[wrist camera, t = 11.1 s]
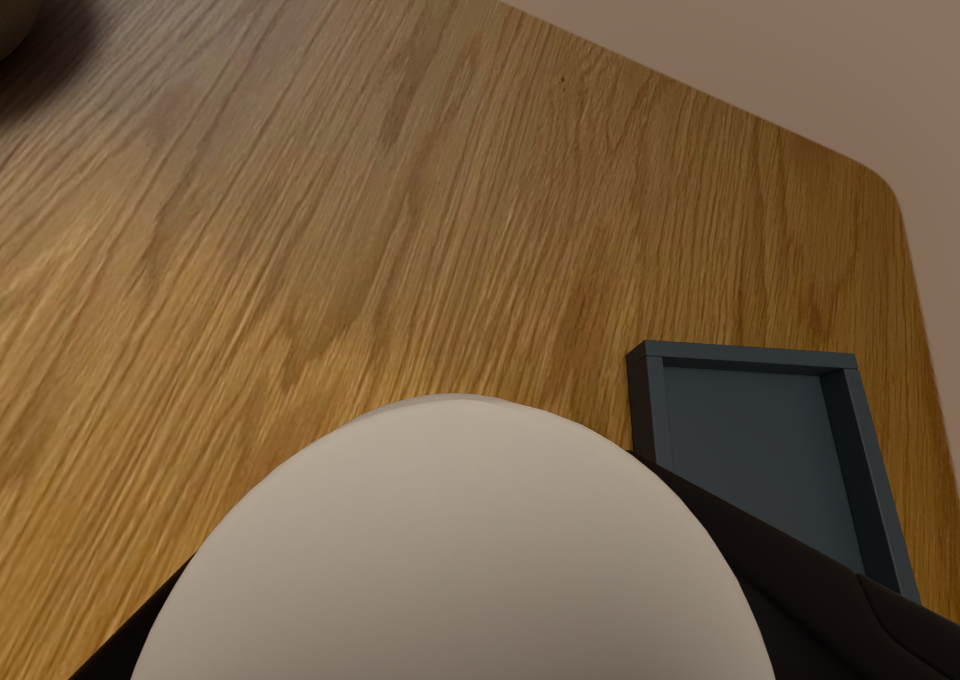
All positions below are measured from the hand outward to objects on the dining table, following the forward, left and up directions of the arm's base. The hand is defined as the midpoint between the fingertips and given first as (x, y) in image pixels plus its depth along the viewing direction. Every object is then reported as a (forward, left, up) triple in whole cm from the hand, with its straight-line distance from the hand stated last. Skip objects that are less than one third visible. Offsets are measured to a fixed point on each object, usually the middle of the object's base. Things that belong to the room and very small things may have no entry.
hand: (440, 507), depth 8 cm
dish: (+1, -14, -13) cm, 20 cm away
